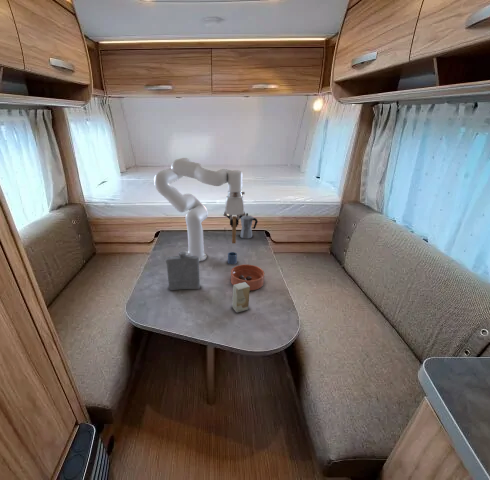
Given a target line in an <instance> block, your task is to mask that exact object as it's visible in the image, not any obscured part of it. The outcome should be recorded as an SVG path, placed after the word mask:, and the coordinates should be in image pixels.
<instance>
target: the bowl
mask: <svg viewBox="0 0 490 480" xmlns="http://www.w3.org/2000/svg"><path fill="white" fill-rule="evenodd" d="M240 275H243V276H244V278H246V277H247V276H251V278H252V280H251V281H246V280H241V279H238V277H239V276H240ZM243 282H246V283H247V284H248V285H249V286H250V291H255V290H259V289H261V288H262V287H263V286H264V283H265V272H264V270H263V269H262V268H261V267H259V266H257V265H253V264H247V263H246V264H238V265H236V266H234V267H233V268H231V270H230V283H231V285H232V286H233V285H235V284H239V283H243Z"/></svg>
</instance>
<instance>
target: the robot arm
mask: <svg viewBox="0 0 490 480" xmlns="http://www.w3.org/2000/svg"><path fill="white" fill-rule="evenodd" d="M243 174H244V173H243V172H242V170H238V169H234V170H231V169H226V168H221V169H219V170H216V171H215V170H210V169H206V168H204V167H202V164H201V163H199V162H194V161H191V159H190V158H187V157H181V158H178V159H175V160H174V161H173V162H172V163H171V166H170V168H166V169H163V170H160V171H158V172H157V173H156V174H155V175H154V178H153V184H154V187H155V189H156V191H157V192H158V193H159V194H160V195H161V196H162V197H163V198H165V200H167V202H168V203H170V204H171V205H172V207H174V209H175V210H176V211H178V212H179V213H186V212H187V211H188V212H187V213H186V214H185V223H186V231H187V244H188V245H187V247H188V248H187V250H186V251H184V250H183V251H184V252H186V255H188V256H198V257H199V262H202V261H205V260H206V259H207V253H205V247H204V243H205V242H204V228H203V222H204V221H205V220H207V218H208V216H209V210H208V208H207V207H206V206H205V205H204V204H203V203H202V202H201V201H200V200H199V198H197V197H196V196H195V195H193V194H191V193H184V194H182V193H181V192H180V191H179V190H178V189H177V188H175V187H174V186H173V185H171V184H173V183H175V182H177V181H179V180H180V179H181V178H183V177H186V178H191V179H195V180H197V181H198V182H200V183H201V184H205V185H208V186H213V187H221V186H222V185H224V184H227V195H226V197H225V206H224V212H223V217H225V218H227V219H229V226H231V228H232V227H233V220H232V216H236V228H238V226H239V223H240V222H239V221H240V220H241V219H240V218H241V217H243V216H245V215H246V212H245V200H244V196H243V195H245V191H243Z"/></svg>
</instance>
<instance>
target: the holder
mask: <svg viewBox="0 0 490 480" xmlns="http://www.w3.org/2000/svg"><path fill="white" fill-rule="evenodd" d="M237 260H238V254H237V253H236V252H235V251H230V252H228V253H227V263H228V264H229V265H236V264H237V263H238V261H237Z"/></svg>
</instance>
